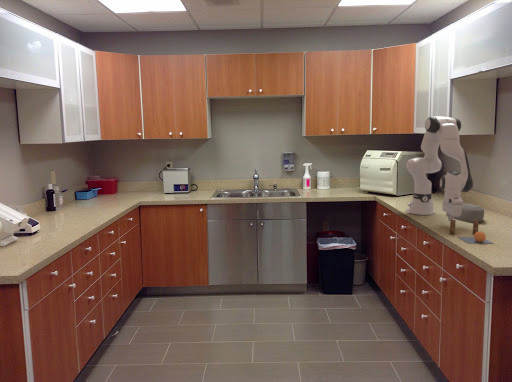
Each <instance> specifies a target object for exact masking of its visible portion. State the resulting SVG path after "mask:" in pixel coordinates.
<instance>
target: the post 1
mask: <svg viewBox="0 0 512 382" xmlns="http://www.w3.org/2000/svg"><path fill="white" fill-rule="evenodd" d="M456 221H457V219H453V220H451V221H449V223H450V224H449V235H452V236H453V235H454V234H456ZM454 236H455V235H454Z"/></svg>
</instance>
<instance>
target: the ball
mask: <svg viewBox="0 0 512 382" xmlns="http://www.w3.org/2000/svg"><path fill="white" fill-rule="evenodd" d="M473 237H474V239H475V240H476V241H477V242H483V241H484V240H485V239H486V240H487V238H486V237H487V236H486V234H485V233H484V232H482V231H478V232H476V233H475V234H474V235H473Z"/></svg>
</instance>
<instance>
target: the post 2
mask: <svg viewBox="0 0 512 382" xmlns="http://www.w3.org/2000/svg"><path fill="white" fill-rule="evenodd" d="M472 223H473V224H472V235H473V236H474V234H475V233H476V232H479V224H480V222H479V220H474V221H473V222H472Z"/></svg>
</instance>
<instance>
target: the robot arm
mask: <svg viewBox="0 0 512 382" xmlns="http://www.w3.org/2000/svg"><path fill="white" fill-rule="evenodd" d="M424 128H425V132H424V135H423V138H422V141H421V145H420V149H421V151H422V152H423V153H424V156H423V157H413V158H410V159H408V160H407V162H406V170H407V171H408V173H409V174H411V176H412V179H413V182H414V185H413V186H414V187H413V188H414V190H413V194H412V199H411V200H410V201H409V202H408V203H407V206H408V208H405V211H406V212H407V214H413V215H419V216H420V215H421V216H430V215H434V214H436V211H434V201H433V200H432V198H433V195H432V187H433V186H432V181H431V180H429V179H428V177H427V174H434V173H437V172H439V171H441V169H442V166H443V165H442V161H441V159H440V158H439V149H440V151H441V153H442V154H444V155H445V156H447V157H450V158H453V159H454V160H457V161H458V163H459V165H460V169H461V172H460V171H457V170H449V171H447V173H446V174H445V175H442V176H441V177H440V178H439V188H440V189H441V190H443V191H444V196H443V201H442V206H441V207H442V208H441V209H442V211H443V212H445V213H446V212H447V213H448V215H447V221H448V222H450V221H451V220H454V219H455V218H454V217H460V216H461V213H462V204H464V199H463V198H462V193H468V192H470V191H471V190H472V189H473V187H474V180H473V178H472V177H473V176H472V174H471V173H472V172H471V168H470V163H469V158H468V155H467V152H466V150H465V149H464V148H463V147H462V146H461V143H460V140H461V139H460V132H461V130H462V122H461V119H459V118H456V117H449V116H435V115H433V116H429V117H427V118H426V120H425V123H424ZM439 147H440V148H439Z"/></svg>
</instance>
